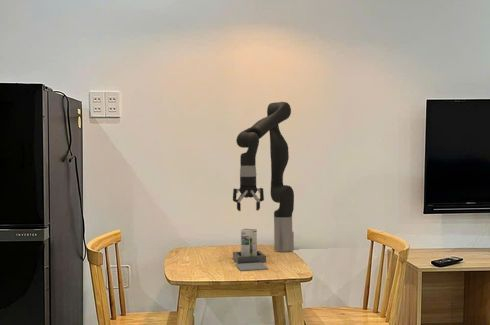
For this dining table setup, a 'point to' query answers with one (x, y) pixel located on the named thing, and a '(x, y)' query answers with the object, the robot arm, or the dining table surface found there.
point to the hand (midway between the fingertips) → (248, 210)
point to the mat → (251, 266)
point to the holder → (249, 258)
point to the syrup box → (248, 242)
